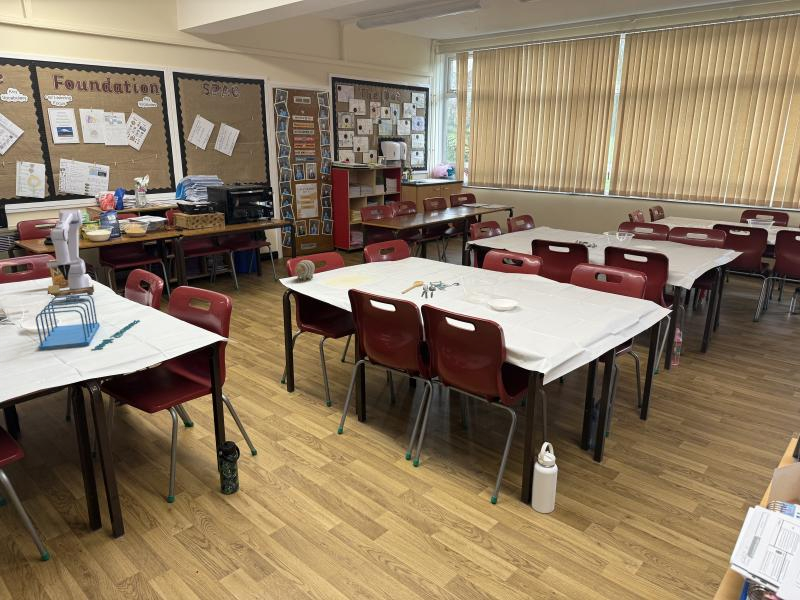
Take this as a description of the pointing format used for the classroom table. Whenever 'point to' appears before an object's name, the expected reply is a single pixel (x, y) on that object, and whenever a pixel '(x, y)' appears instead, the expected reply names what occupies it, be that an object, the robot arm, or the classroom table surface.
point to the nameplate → (115, 336)
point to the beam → (75, 291)
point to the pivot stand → (72, 298)
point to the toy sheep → (305, 269)
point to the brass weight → (53, 289)
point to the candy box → (58, 276)
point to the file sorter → (68, 327)
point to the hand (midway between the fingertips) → (66, 279)
